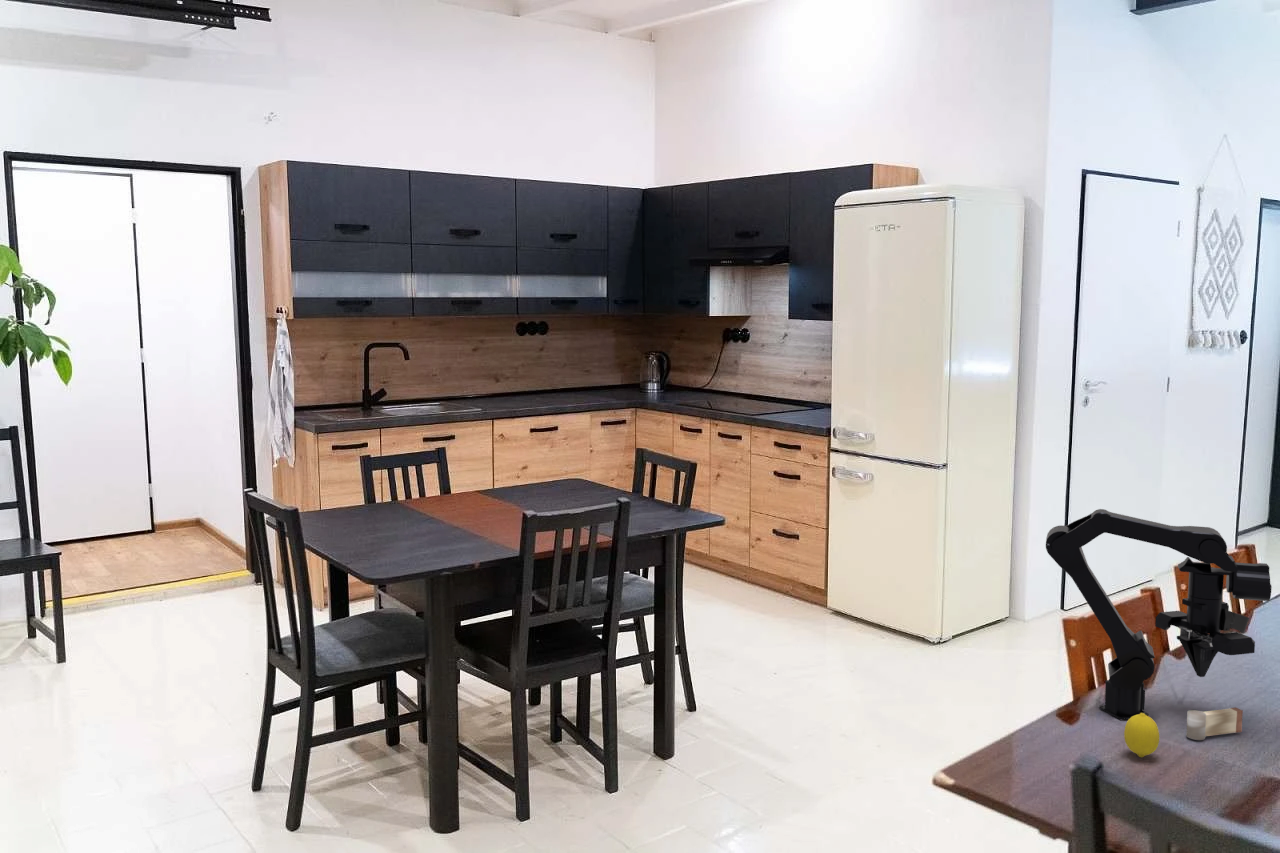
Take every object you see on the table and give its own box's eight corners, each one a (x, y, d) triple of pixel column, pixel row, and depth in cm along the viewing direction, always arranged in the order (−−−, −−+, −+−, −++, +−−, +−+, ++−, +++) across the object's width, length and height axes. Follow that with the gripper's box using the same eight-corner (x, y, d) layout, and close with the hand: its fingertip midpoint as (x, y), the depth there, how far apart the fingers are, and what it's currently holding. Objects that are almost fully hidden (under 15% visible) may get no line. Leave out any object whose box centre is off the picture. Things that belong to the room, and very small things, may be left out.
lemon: (1156, 766, 177) (1158, 721, 176) (1121, 759, 180) (1123, 715, 179) (1160, 754, 181) (1161, 711, 181) (1125, 748, 184) (1127, 705, 183)
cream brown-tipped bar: (1195, 740, 186) (1196, 717, 186) (1182, 734, 189) (1183, 711, 189) (1244, 734, 189) (1245, 711, 188) (1231, 728, 192) (1232, 705, 191)
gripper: (1282, 606, 186) (1277, 689, 187) (1203, 580, 204) (1199, 656, 205) (1230, 610, 183) (1226, 695, 185) (1155, 584, 201) (1151, 661, 203)
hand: (1200, 676), depth 195 cm, fingers closed
